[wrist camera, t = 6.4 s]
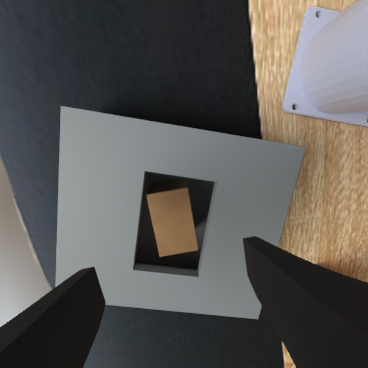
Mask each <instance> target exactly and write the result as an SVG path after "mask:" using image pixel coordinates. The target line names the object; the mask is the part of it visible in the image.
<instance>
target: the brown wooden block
mask: <svg viewBox="0 0 368 368" xmlns="http://www.w3.org/2000/svg"><path fill="white" fill-rule="evenodd" d="M146 196H147V201H148V206H149V210H150V215H151V220H152V224H153V229H154V233H155V238H156V243H157V247H158V252H159V257H162V256H168V255H174V254H179V253H185V252H191V251H196V250H198V246H197V240H196V234H195V228H194V222H193V217H192V211H191V205H190V199H189V193H188V187H187V183H186V180H185V178H180V179H175V180H169V181H163V182H157V183H152V185H151V187H150V189H149V191H148V192H147V194H146Z"/></svg>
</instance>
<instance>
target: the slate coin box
mask: <svg viewBox="0 0 368 368" xmlns="http://www.w3.org/2000/svg"><path fill="white" fill-rule="evenodd" d="M305 148H306V147H302V146H297V145H291V144H285V143H279V142H273V141H267V140H261V139H255V138H249V137H243V136H237V135H231V134H225V133H219V132H213V131H207V130H201V129H195V128H189V127H183V126H177V125H171V124H165V123H159V122H153V121H147V120H141V119H135V118H129V117H123V116H117V115H112V114H106V113H100V112H94V111H88V110H82V109H76V108H70V107H64V106H61V121H60V154H59V188H58V222H57V256H56V287H57V286H58V285H59V284H61V283H62V282H63V281H65V280H66V279H67V278H69V277H70V276H72V275H73V274H75V273H76V272H78V271H79V270H81V269H84V268H90V267H95V270H96V273H97V276H98V280H99V283H100V286H101V289H102V292H103V295H104V298H105V302H106V304H105V305H116V306H126V307H137V308H147V309H157V310H168V311H178V312H189V313H199V314H210V315H220V316H230V317H241V318H251V319H258V317H259V314H260V310H261V306H262V305H261V303H260V302H259V300H258V298H257V296H256V294H255V292H254V290H253V287H252V285H251V283H250V280H249V278H248V276H247V268H246V261H245V253H244V245H243V238H247V237H253V236H256V237H259V238H261V239H263V240H265V241H267V242H269V243H271V244H273V245H275V246H277V247H278V245H279V242H280V238H281V234H282V231H283V227H284V224H285V220H286V217H287V213H288V209H289V206H290V202H291V199H292V195H293V191H294V188H295V184H296V181H297V177H298V173H299V170H300V166H301V163H302V159H303V155H304V152H305ZM180 178H185V180H186V183H187V187H188V193H189V199H190V205H191V211H192V217H193V222H194V228H195V234H196V240H197V246H198V250H196V251H191V252H185V253H179V254H174V255H168V256H162V257H159V252H158V247H157V243H156V238H155V233H154V229H153V224H152V220H151V215H150V210H149V206H148V201H147V196H146V194H147V192H148V191H149V189H150V187H151V185H152V183H157V182H163V181H169V180H175V179H180Z"/></svg>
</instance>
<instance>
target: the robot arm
mask: <svg viewBox="0 0 368 368" xmlns="http://www.w3.org/2000/svg"><path fill="white" fill-rule="evenodd" d="M316 14H318V18H317V17H316ZM292 105H295V109H294V110H293V109H292ZM282 110H283V111H284V112H286V113H292V114H298V115H303V116H309V117H314V118H320V119H325V120H331V121H336V122H342V123H348V124H353V125H359V126H364V127H368V122H367V119H368V0H357V1H356V2H355V3H353V4H352V5H351V6H349V7H348V8H347V9H346V10H344V11H343V12H339V11H334V10H330V9H325V8H321V7H317V6H311V7H309V8H308V9H307V10H306V11H305V13H304V17H303V21H302V25H301V29H300V33H299V37H298V41H297V45H296V49H295V54H294V58H293V62H292V66H291V70H290V74H289V78H288V82H287V86H286V90H285V95H284V99H283V103H282ZM243 245H244V253H245V261H246V268H247V276H248V278H249V280H250V283H251V285H252V287H253V290H254V292H255V294H256V296H257V298H258V300H259V302H260V303H261V305H262V307H263V309H264V310H265V312H266V314H267V316H268V317H269V319H270V321H271V322H272V324H273V326H274V328H275V329H276V331H277V333H278V335H279V336H280V338H281V340H282V341H283V343H284V345H285V347H286V348H287V350H288V352H289V354H290V356H291V358H292V360H293V362H294V364H295V366H296V368H368V283H367V282H363V281H360V280H357V279H354V278H351V277H348V276H345V275H342V274H339V273H337V272H334V271H331V270H328V269H326V268H323V267H320V266H318V265H316V264H313V263H311V262H309V261H306V260H304V259H302V258H299V257H297V256H295V255H293V254H291V253H289V252H287V251H285V250H283V249H281V248H279V247H277V246H275V245H273V244H271V243H269V242H267V241H265V240H263V239H261V238H259V237H256V236H253V237H247V238H243ZM105 304H106V302H105V298H104V295H103V292H102V289H101V286H100V283H99V280H98V276H97V273H96V270H95V267H90V268H84V269H81V270H79V271H78V272H76V273H75V274H73V275H72V276H70V277H69V278H67V279H66V280H65V281H63V282H62V283H61V284H59V285H58V286H57V287H55V288H54V289H53V290H51V291H50V292H49V293H47V294H46V295H45V296H43V297H42V298H41V299H40V300H38V301H37V302H35V303H34V304H33V305H31V306H30V307H28V308H27V309H26V310H24V311H23V312H21V313H20V314H19V315H17V316H16V317H14V318H13V319H12V320H10V321H9V322H7V323H6V324H5V325H3V326H1V327H0V368H83V366H84V364H85V361H86V359H87V356H88V354H89V352H90V349H91V347H92V344H93V342H94V339H95V336H96V334H97V331H98V329H99V326H100V323H101V319H102V316H103V312H104V308H105Z"/></svg>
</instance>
